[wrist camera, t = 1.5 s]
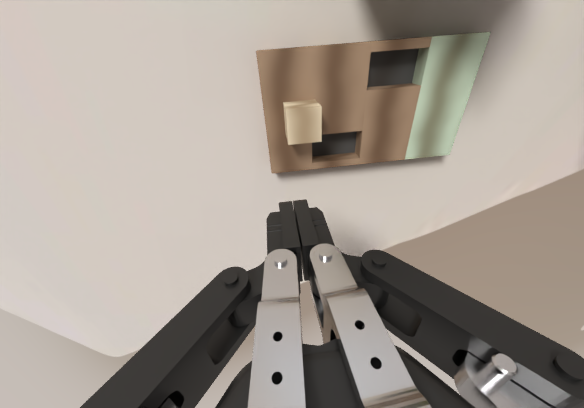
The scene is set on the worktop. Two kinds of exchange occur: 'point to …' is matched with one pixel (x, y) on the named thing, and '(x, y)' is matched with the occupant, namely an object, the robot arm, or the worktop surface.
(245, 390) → the robot arm
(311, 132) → the block
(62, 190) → the worktop surface
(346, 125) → the board
